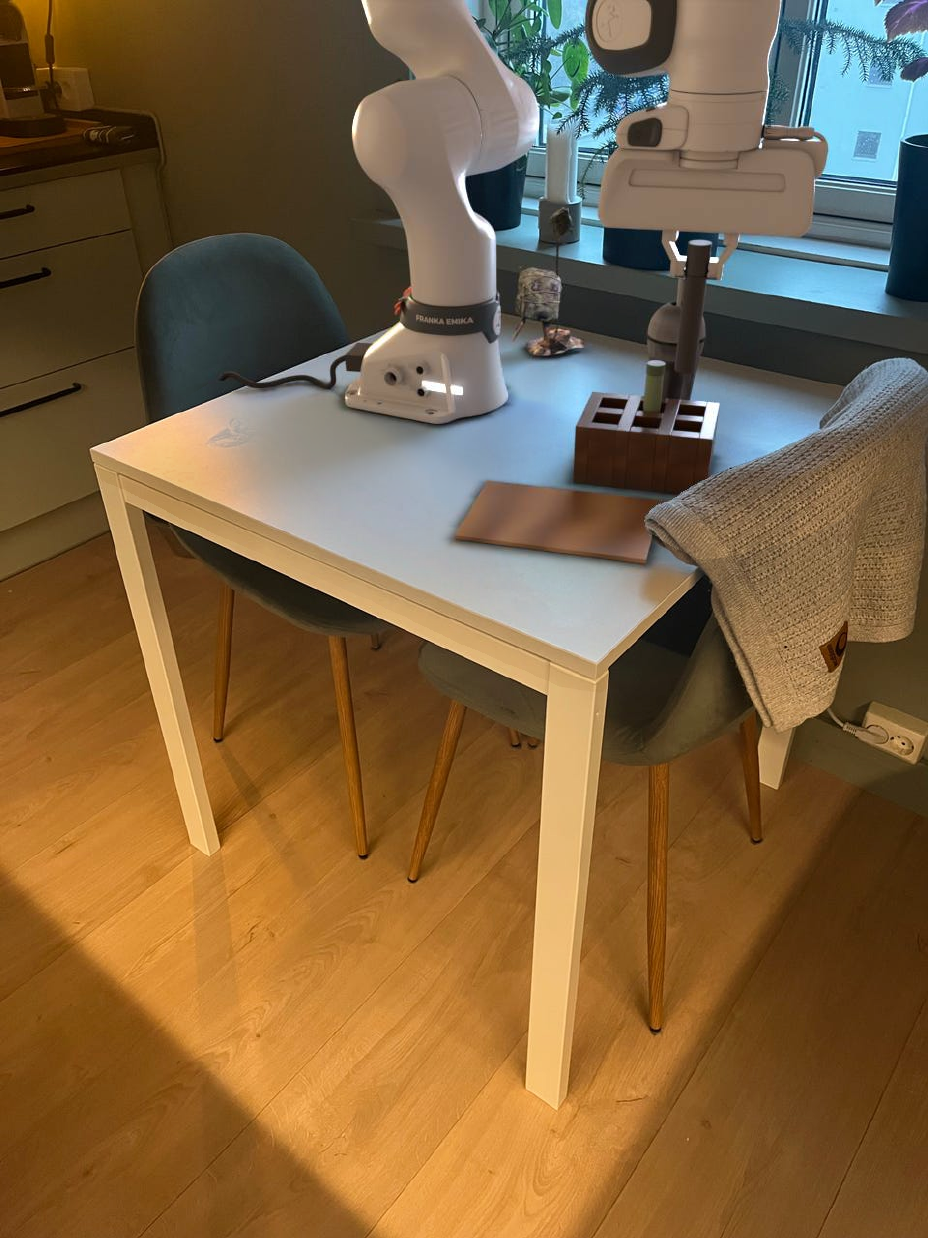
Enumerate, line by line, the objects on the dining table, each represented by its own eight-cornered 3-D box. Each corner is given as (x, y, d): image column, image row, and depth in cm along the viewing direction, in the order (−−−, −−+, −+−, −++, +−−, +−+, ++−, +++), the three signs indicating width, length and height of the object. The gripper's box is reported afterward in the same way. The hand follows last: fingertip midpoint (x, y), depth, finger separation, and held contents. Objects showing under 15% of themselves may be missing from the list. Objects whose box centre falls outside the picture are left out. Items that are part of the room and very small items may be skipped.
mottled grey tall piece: (508, 341, 151) (509, 206, 139) (580, 338, 151) (586, 203, 140) (513, 359, 144) (514, 219, 133) (588, 356, 144) (595, 216, 133)
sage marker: (636, 464, 114) (645, 365, 107) (639, 457, 116) (647, 358, 109) (654, 466, 114) (664, 367, 107) (656, 458, 115) (666, 360, 108)
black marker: (672, 372, 101) (687, 244, 94) (675, 365, 103) (689, 238, 95) (694, 374, 101) (711, 245, 93) (696, 367, 102) (713, 239, 95)
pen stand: (572, 482, 111) (575, 426, 107) (589, 445, 119) (592, 391, 115) (705, 497, 107) (712, 439, 103) (712, 457, 115) (720, 402, 111)
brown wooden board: (454, 539, 101) (454, 535, 101) (487, 484, 111) (487, 480, 111) (645, 564, 96) (645, 559, 96) (661, 504, 106) (661, 500, 106)
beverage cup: (699, 415, 126) (719, 258, 114) (691, 438, 120) (711, 274, 108) (643, 409, 128) (657, 254, 116) (633, 431, 122) (647, 270, 110)
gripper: (831, 121, 88) (803, 275, 96) (610, 116, 93) (601, 262, 101) (833, 132, 83) (803, 293, 91) (599, 126, 88) (590, 279, 96)
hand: (695, 277), depth 96 cm, fingers closed on black marker, 2 cm apart
